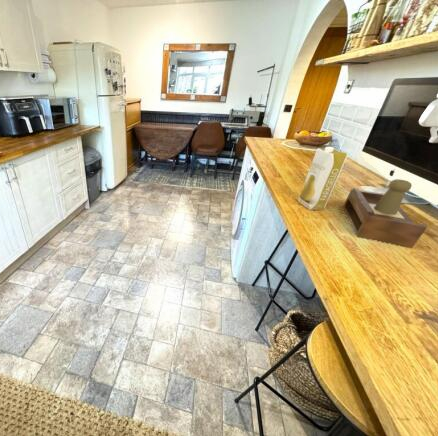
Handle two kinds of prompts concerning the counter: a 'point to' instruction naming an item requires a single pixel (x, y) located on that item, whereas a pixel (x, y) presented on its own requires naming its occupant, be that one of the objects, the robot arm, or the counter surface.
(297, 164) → the counter surface
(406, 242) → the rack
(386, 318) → the counter surface
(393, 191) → the pepper mill
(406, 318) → the counter surface
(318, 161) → the juice carton
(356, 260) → the counter surface
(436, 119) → the robot arm
